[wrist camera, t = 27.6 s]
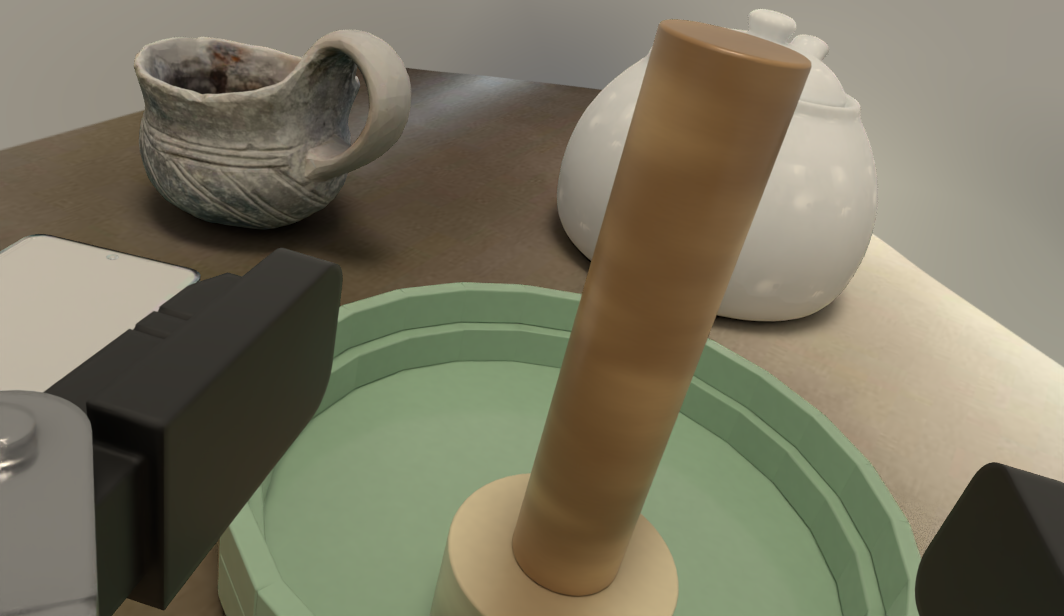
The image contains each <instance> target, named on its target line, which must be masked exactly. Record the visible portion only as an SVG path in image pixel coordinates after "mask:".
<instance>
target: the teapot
mask: <svg viewBox="0 0 1064 616" xmlns="http://www.w3.org/2000/svg"><path fill="white" fill-rule="evenodd" d="M748 25H749V30H748V31H745V30H739V29H731V30H735V31H739V32H742V33H746V34H749V35H753V36H756V37H759V38H762V39H765V40H768V41H771V42H774V43H777V44H779V45H782V46H785V47H787V48H790V49H792V50H794V51H796V52H798V53H800V54H802V55H804V56H805V57H806V58H808V59H809V60H810V61H811V70H810V73H809V75H808V78H807V81H806V83H805V86H804V88H803V91H802V94H801V96H800V99H799V102H798V104H797V107H796V109H795V112H794V115H793V117H792V120H791V122H790V125H789V128H788V130H787V133H786V135H785V138H784V141H783V143H782V146H781V148H780V151H779V154H778V156H777V159H776V161H775V164H774V167H773V169H772V172H771V174H770V177H769V180H768V182H767V185H766V188H765V190H764V193H763V195H762V198H761V201H760V203H759V206H758V208H757V211H756V214H755V216H754V219H753V221H752V224H751V227H750V229H749V232H748V234H747V237H746V240H745V242H744V245H743V247H742V250H741V253H740V255H739V258H738V260H737V263H736V266H735V268H734V271H733V274H732V276H731V279H730V281H729V284H728V287H727V289H726V292H725V294H724V297H723V300H722V302H721V305H720V307H719V310H718V313H717V315H718V316H723V317H729V318H734V319H741V320H752V321H785V320H792V319H798V318H801V317H805V316H808V315H811V314H813V313H815V312H817V311H819V310H821V309H822V308H824V307H825V306H827V305H828V304H830V303H831V302H832V301H833V300H834V299H835V298H837V297H838V296H839V295H840V294H841V292H842V291H843V290H844V289H845V288H846V286H847V285H848V283H849V282H850V280H851V279H852V277H853V276H854V274H855V272H856V271H857V269H858V267H859V265H860V263H861V261H862V259H863V257H864V255H865V253H866V250H867V248H868V245H869V243H870V239H871V236H872V233H873V229H874V224H875V220H876V213H877V202H878V182H877V173H876V167H875V161H874V157H873V153H872V149H871V145H870V142H869V139H868V136H867V134H866V131H865V129H864V126H863V124H862V121H861V118H860V111H861V107H860V104H859V103H858V101H856V100H855V99H854V98H853V97H851V96H849V95H848V94H846V93H845V92H844V90H843V88H842V85H841V83H840V82H839V80H838V78H837V77H836V75H835V74H834V73H833V72H832V71H831V70H830V69H829V68H828V67H827V66H826V65H825V64H824V63H823V62H822V60H823V59H824V57H825V56H826V55H827V54H828V52H829V47H828V45H827V44H826V43H825V42H824V41H823V40H821V39H819V38H817V37H814V36H810V35H798V36H796V37H795V38H794V39H793V40H792V42H791V43H790V44H789V43H787V42H786V41H787V40H788V38H789V37H791V36H792V35H793V34H794V32H795V29H796V23H795V21H794V20H793V19H792V18H790V17H788V16H786V15H784V14H781V13H778V12H776V11H771V10H767V9H757V10H754V11H752V12H751V13H750V14H749V17H748ZM727 29H730V28H727ZM651 50H652V48H651V49H650V51H649V53H648V55H647V56H646V57H645V58H643V59H642V60H640V61H638V62H637V63H635V64H634V65H632V66H631V67H629V68H628V69H626V70H625V71H624V72H623V73H621V74H620V75H619V76H618V77H616V78H615V79H614V80H613V81H612V82H611V83H609V84H608V85H607V86H606V87H605V88H604V89H603V90H602V91H601V92H600V93H599V94H598V95H597V97H596V98H595V99H594V100H593V101H592V102H591V104H590V105H589V106H588V108H587V109H586V110H585V112H584V114H583V115H582V117H581V118H580V120H579V122H578V123H577V125H576V127H575V129H574V131H573V133H572V135H571V138H570V140H569V143H568V145H567V148H566V151H565V154H564V157H563V161H562V165H561V170H560V174H559V181H558V188H557V207H558V213H559V217H560V220H561V223H562V225H563V228H564V230H565V232H566V233H567V235H568V237H569V238H570V239H571V241H572V242H573V243H574V245H575V246H576V247H577V248H578V249H579V250H580V251H581V252H582V253H583V254H584V255H585V256H586V257H587V258H588V259H589V260H591V261H592V257H593V254H594V250H595V247H596V243H597V240H598V236H599V233H600V229H601V225H602V222H603V218H604V215H605V211H606V208H607V204H608V201H609V197H610V194H611V190H612V187H613V183H614V180H615V176H616V173H617V169H618V166H619V162H620V159H621V155H622V152H623V148H624V145H625V141H626V138H627V134H628V131H629V127H630V124H631V120H632V117H633V113H634V110H635V106H636V103H637V99H638V96H639V92H640V89H641V85H642V82H643V78H644V75H645V71H646V68H647V64H648V61H649V57H650V54H651Z"/></svg>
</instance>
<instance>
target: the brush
mask: <svg viewBox="0 0 1064 616" xmlns="http://www.w3.org/2000/svg"><path fill="white" fill-rule="evenodd" d="M810 70H811V61H810V60H809V59H808V58H806V57H805V56H804V55H802V54H800V53H798V52H796V51H794V50H792V49H790V48H787V47H785V46H782V45H779V44H777V43H774V42H771V41H768V40H765V39H762V38H759V37H756V36H753V35H749V34H746V33H742V32H739V31H735V30H731V29H727V28H723V27H719V26H714V25H709V24H704V23H700V22H694V21H688V20H678V19H670V20H663V21H661V22H660V24H659V26H658V29H657V33H656V36H655V40H654V44H653V47H652V50H651V54H650V57H649V61H648V64H647V68H646V71H645V75H644V78H643V82H642V85H641V89H640V92H639V96H638V99H637V103H636V106H635V110H634V113H633V117H632V120H631V124H630V127H629V131H628V134H627V138H626V141H625V145H624V148H623V152H622V155H621V159H620V162H619V166H618V169H617V173H616V176H615V180H614V183H613V187H612V190H611V194H610V197H609V201H608V204H607V208H606V211H605V215H604V218H603V222H602V225H601V229H600V233H599V236H598V240H597V243H596V247H595V250H594V254H593V257H592V261H591V264H590V268H589V271H588V275H587V278H586V282H585V285H584V289H583V292H582V296H581V299H580V303H579V306H578V310H577V313H576V317H575V320H574V324H573V327H572V331H571V334H570V338H569V341H568V345H567V348H566V352H565V355H564V359H563V362H562V366H561V369H560V373H559V376H558V380H557V383H556V387H555V390H554V394H553V397H552V401H551V404H550V408H549V411H548V415H547V418H546V422H545V425H544V429H543V432H542V436H541V439H540V443H539V446H538V450H537V453H536V457H535V460H534V464H533V467H532V471H531V473H527V474H518V475H512V476H507V477H504V478H501V479H497V480H495V481H493V482H490V483H488V484H486V485H484V486H483V487H481V488H479V489H478V490H476V491H475V492H474V493H473V494H472V495H470V496H469V497H468V498H467V499H466V500H465V501H464V502H463V504H462V505H461V506H460V507H459V509H458V510H457V512H456V514H455V516H454V517H453V520H452V523H451V525H450V528H449V533H448V537H447V541H446V546H445V550H444V554H443V559H442V563H441V567H440V572H439V576H438V580H437V585H436V589H435V593H434V598H433V602H432V606H431V611H430V616H673V614H674V611H675V609H676V606H677V600H678V595H679V582H678V576H677V569H676V566H675V563H674V560H673V557H672V555H671V552H670V550H669V548H668V546H667V545H666V543H665V541H664V540H663V538H662V536H661V535H660V534H659V532H658V531H657V530H656V529H655V527H654V526H653V525H652V524H651V523H650V522H649V521H648V520H647V519H646V518H645V517H644V516H643V515H642V514H641V511H642V508H643V505H644V503H645V500H646V498H647V495H648V492H649V490H650V487H651V485H652V482H653V479H654V477H655V474H656V472H657V469H658V466H659V464H660V461H661V459H662V456H663V453H664V451H665V448H666V446H667V443H668V440H669V438H670V435H671V432H672V430H673V427H674V425H675V422H676V419H677V417H678V414H679V412H680V409H681V406H682V404H683V401H684V399H685V396H686V393H687V391H688V388H689V386H690V383H691V380H692V378H693V375H694V373H695V370H696V367H697V365H698V362H699V360H700V357H701V354H702V352H703V349H704V346H705V344H706V341H707V339H708V336H709V333H710V331H711V328H712V326H713V323H714V320H715V318H716V315H717V313H718V310H719V307H720V305H721V302H722V300H723V297H724V294H725V292H726V289H727V287H728V284H729V281H730V279H731V276H732V274H733V271H734V268H735V266H736V263H737V260H738V258H739V255H740V253H741V250H742V247H743V245H744V242H745V240H746V237H747V234H748V232H749V229H750V227H751V224H752V221H753V219H754V216H755V214H756V211H757V208H758V206H759V203H760V201H761V198H762V195H763V193H764V190H765V188H766V185H767V182H768V180H769V177H770V174H771V172H772V169H773V167H774V164H775V161H776V159H777V156H778V154H779V151H780V148H781V146H782V143H783V141H784V138H785V135H786V133H787V130H788V128H789V125H790V122H791V120H792V117H793V115H794V112H795V109H796V107H797V104H798V102H799V99H800V96H801V94H802V91H803V88H804V86H805V83H806V81H807V78H808V75H809V73H810Z"/></svg>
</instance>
